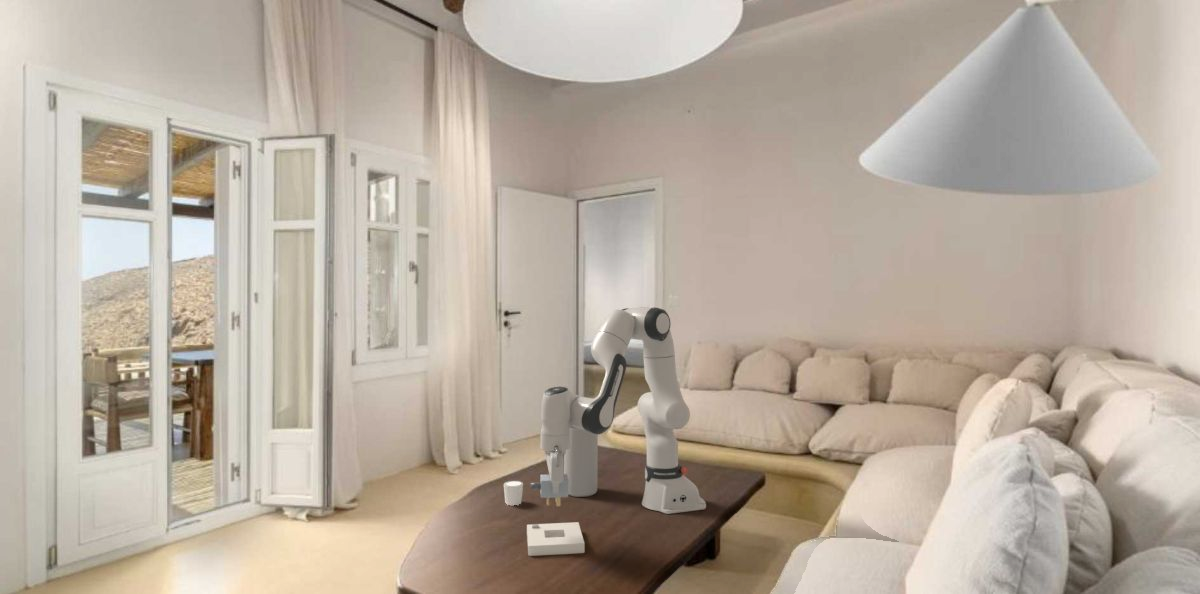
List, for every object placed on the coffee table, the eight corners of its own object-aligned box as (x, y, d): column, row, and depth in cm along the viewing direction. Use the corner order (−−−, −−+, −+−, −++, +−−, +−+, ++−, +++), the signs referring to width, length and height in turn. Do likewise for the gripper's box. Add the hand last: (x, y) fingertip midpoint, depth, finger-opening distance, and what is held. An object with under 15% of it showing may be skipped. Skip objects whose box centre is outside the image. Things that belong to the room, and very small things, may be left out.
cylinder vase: (598, 487, 232) (599, 422, 232) (595, 498, 220) (595, 429, 220) (566, 486, 234) (567, 421, 233) (561, 496, 221) (561, 428, 221)
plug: (566, 500, 184) (566, 474, 184) (568, 507, 178) (568, 480, 178) (529, 501, 182) (530, 474, 182) (530, 508, 176) (531, 481, 176)
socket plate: (578, 531, 189) (578, 519, 189) (584, 552, 174) (584, 540, 173) (526, 533, 187) (526, 522, 187) (528, 555, 171) (528, 543, 171)
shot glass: (519, 507, 210) (519, 487, 210) (500, 505, 211) (500, 485, 211) (525, 500, 217) (525, 481, 217) (507, 499, 218) (507, 479, 218)
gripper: (569, 451, 170) (568, 500, 170) (562, 434, 190) (562, 478, 191) (546, 451, 169) (545, 500, 169) (542, 434, 190) (542, 478, 190)
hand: (554, 488), depth 180 cm, fingers closed on plug, 6 cm apart
